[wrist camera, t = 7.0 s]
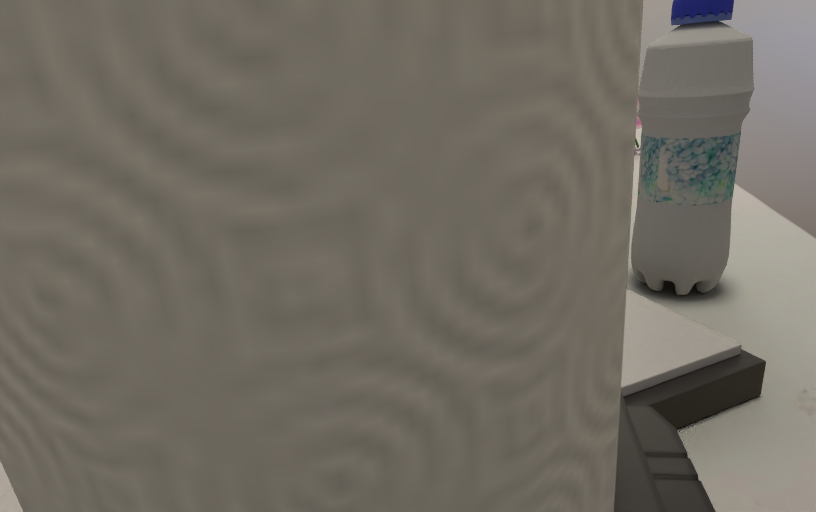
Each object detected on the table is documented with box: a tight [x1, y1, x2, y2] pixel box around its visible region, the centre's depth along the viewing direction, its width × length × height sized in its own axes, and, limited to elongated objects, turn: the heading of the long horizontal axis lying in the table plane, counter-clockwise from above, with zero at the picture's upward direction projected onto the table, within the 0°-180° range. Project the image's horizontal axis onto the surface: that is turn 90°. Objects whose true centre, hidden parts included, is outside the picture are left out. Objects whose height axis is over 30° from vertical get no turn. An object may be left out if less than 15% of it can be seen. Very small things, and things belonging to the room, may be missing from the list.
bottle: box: [631, 0, 754, 295], centre depth 36 cm, size 7×7×20 cm
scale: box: [621, 289, 766, 429], centre depth 30 cm, size 16×14×3 cm
